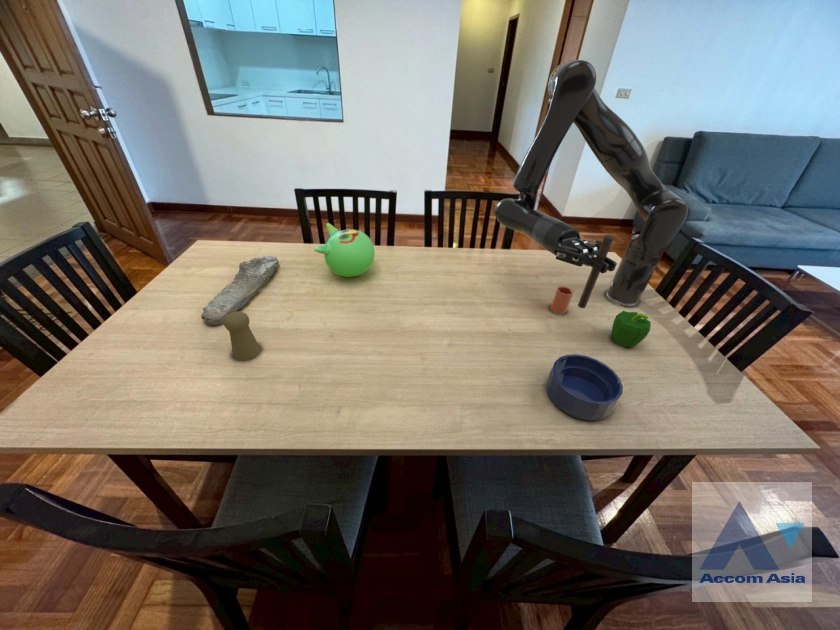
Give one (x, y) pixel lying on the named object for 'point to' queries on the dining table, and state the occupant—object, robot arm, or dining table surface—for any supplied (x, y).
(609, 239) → the stirring stick
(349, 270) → the toy bird
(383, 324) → the dining table surface
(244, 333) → the olive brown pawn
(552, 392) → the blue bowl
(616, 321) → the bell pepper
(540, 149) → the robot arm
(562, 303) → the utensil cup
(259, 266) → the long grey stone
